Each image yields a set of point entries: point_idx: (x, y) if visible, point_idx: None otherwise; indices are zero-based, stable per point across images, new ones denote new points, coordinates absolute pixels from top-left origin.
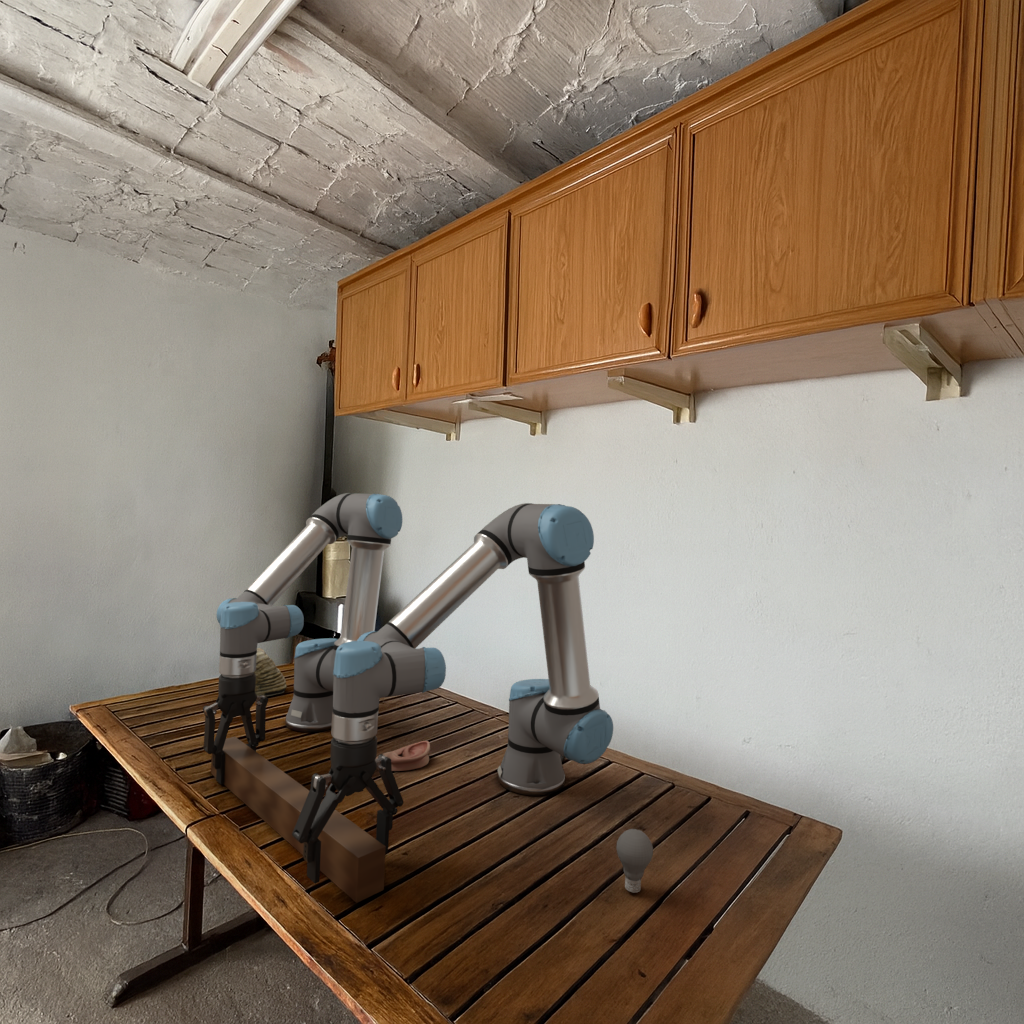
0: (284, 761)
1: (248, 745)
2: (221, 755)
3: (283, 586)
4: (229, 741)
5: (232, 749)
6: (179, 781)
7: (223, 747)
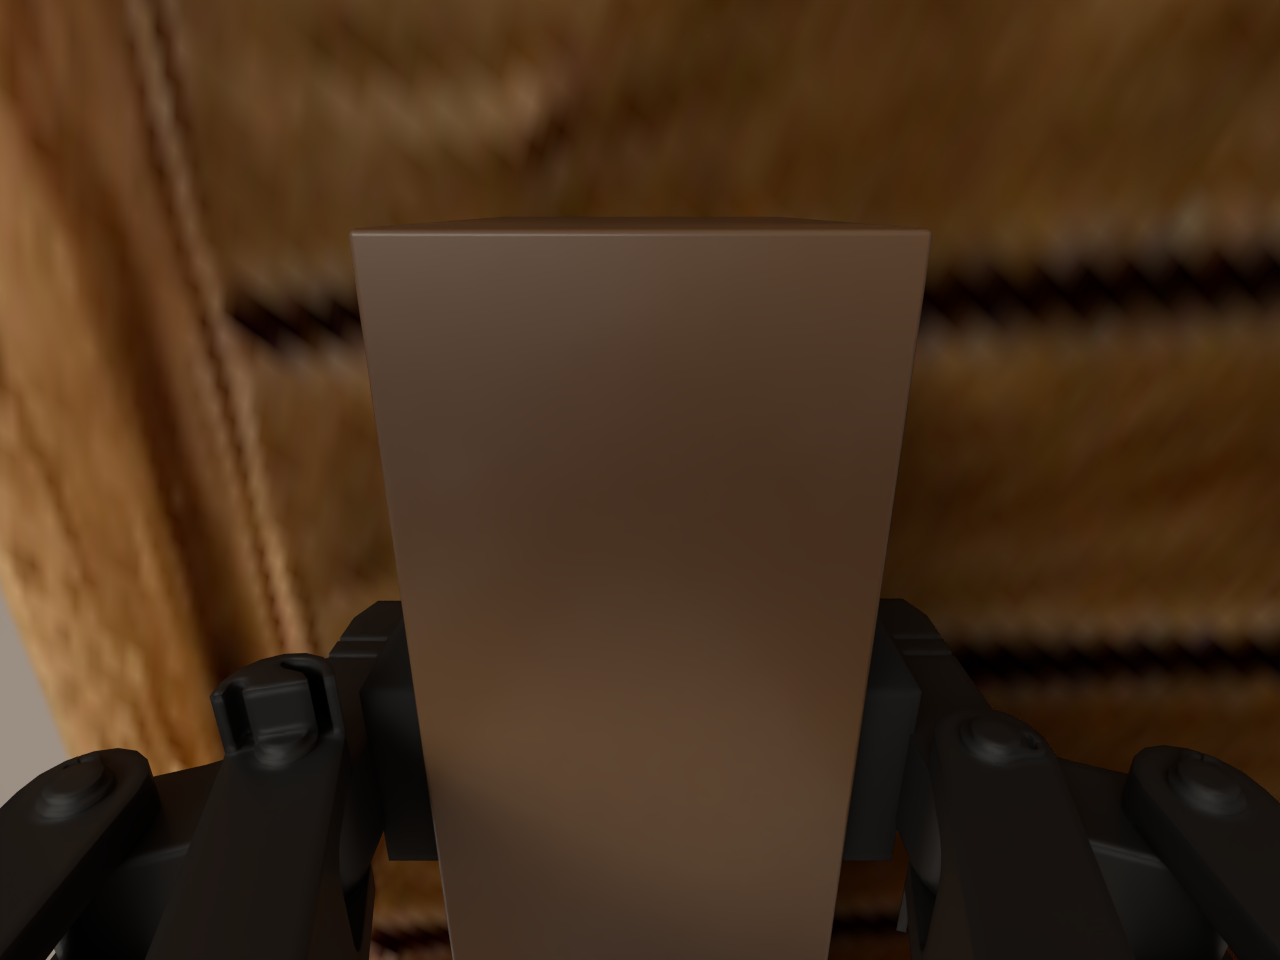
0: (1268, 426)
1: (886, 772)
2: (391, 834)
3: None
4: (685, 473)
5: (574, 841)
6: (144, 199)
7: (475, 685)
